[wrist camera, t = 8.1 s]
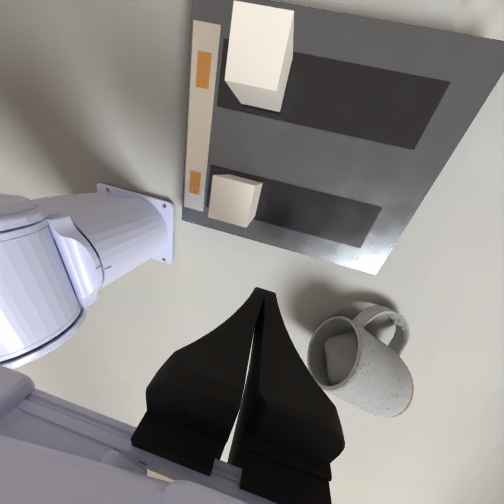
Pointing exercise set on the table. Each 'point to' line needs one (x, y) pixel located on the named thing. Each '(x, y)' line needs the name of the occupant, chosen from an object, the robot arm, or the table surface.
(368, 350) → the ceramic mug
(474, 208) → the table surface
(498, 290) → the table surface
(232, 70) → the switch tab
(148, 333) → the table surface
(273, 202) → the switch panel
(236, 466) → the robot arm
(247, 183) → the switch tab
